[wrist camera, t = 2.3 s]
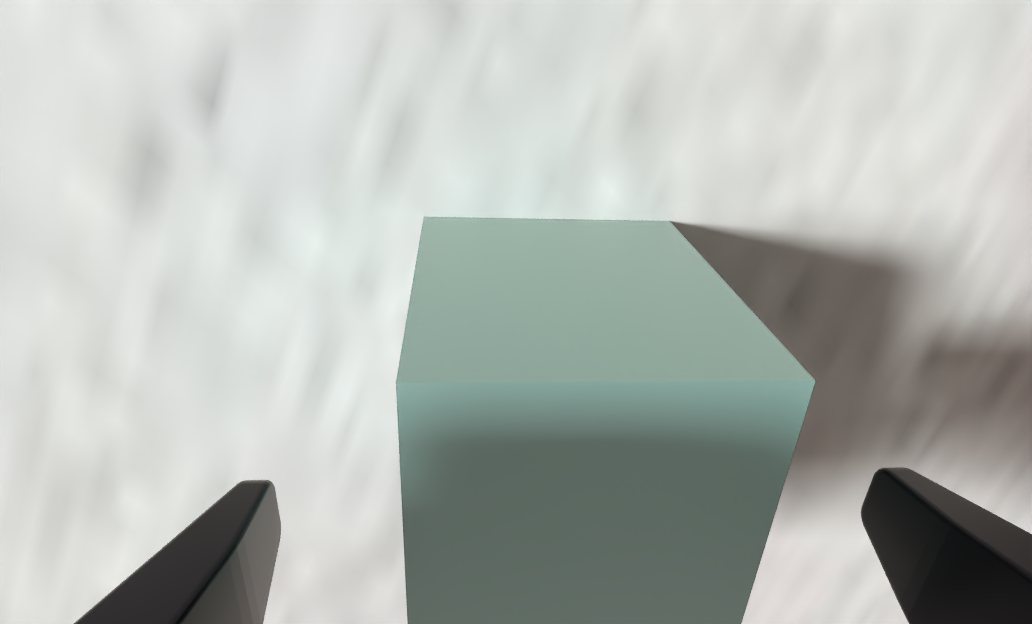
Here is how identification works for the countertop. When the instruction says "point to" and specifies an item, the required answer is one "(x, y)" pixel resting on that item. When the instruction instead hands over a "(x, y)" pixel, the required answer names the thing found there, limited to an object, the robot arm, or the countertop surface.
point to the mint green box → (586, 427)
